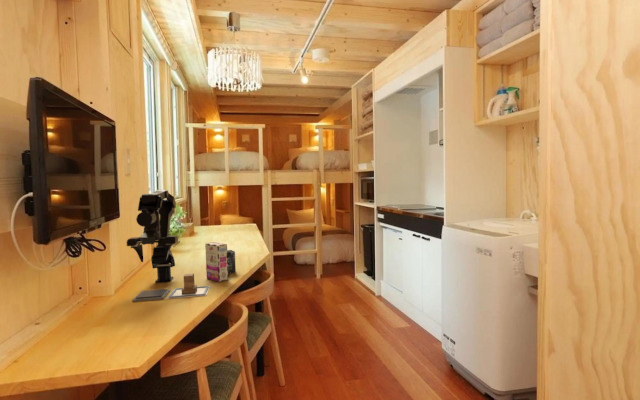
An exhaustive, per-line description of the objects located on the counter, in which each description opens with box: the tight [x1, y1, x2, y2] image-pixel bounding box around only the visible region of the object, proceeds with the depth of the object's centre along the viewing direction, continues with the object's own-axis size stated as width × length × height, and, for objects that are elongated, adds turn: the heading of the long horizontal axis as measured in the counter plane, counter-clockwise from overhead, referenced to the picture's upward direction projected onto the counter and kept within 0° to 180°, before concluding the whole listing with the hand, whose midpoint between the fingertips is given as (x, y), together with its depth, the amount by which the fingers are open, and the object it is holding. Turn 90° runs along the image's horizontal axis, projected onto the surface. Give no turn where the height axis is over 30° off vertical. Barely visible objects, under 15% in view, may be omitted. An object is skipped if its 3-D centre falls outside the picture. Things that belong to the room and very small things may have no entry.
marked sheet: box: [166, 285, 211, 300], centre depth 147 cm, size 12×14×1 cm
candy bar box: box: [205, 241, 229, 283], centre depth 165 cm, size 11×5×16 cm, turn 47°
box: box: [227, 249, 237, 275], centre depth 177 cm, size 8×6×11 cm
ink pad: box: [131, 288, 171, 303], centre depth 143 cm, size 11×11×1 cm
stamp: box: [181, 273, 198, 294], centre depth 146 cm, size 5×5×7 cm
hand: (154, 261), depth 151 cm, fingers open, 9 cm apart
